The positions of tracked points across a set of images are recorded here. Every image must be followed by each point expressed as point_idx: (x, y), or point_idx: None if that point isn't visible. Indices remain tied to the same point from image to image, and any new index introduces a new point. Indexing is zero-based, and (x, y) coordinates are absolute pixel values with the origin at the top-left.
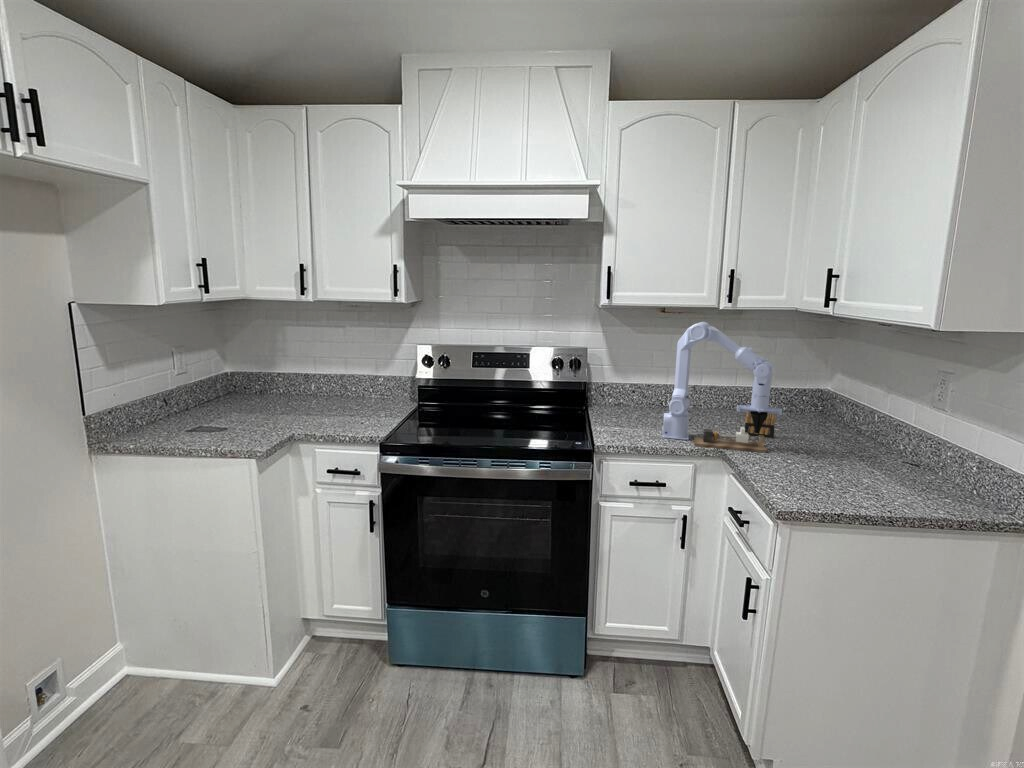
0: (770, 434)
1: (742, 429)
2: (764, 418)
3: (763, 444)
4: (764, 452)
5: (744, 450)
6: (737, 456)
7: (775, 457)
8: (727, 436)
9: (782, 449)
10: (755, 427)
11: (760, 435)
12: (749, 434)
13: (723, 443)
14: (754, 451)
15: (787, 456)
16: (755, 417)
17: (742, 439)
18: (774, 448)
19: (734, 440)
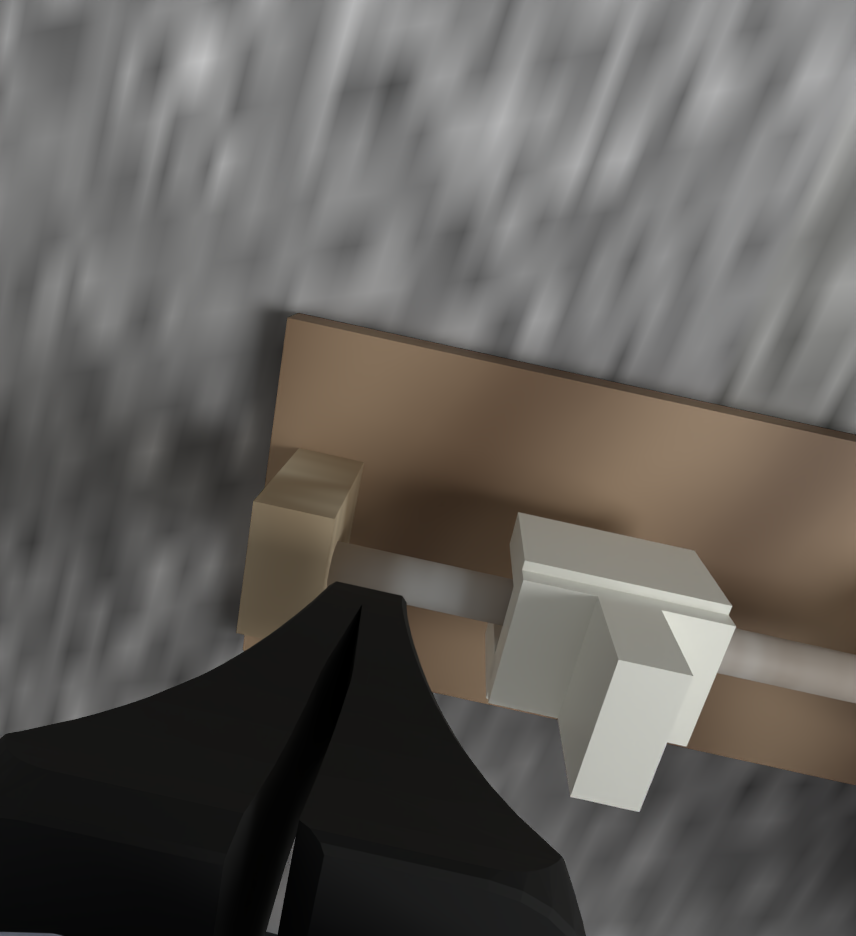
0: None
1: (668, 663)
2: (108, 736)
3: (295, 466)
4: (330, 320)
5: (596, 381)
6: (838, 68)
7: (233, 104)
8: (830, 654)
9: (50, 498)
10: (406, 645)
11: None
12: None
13: (835, 584)
14: (463, 351)
15: (47, 184)
16: (438, 813)
17: (613, 548)
18: (142, 529)
19: None
